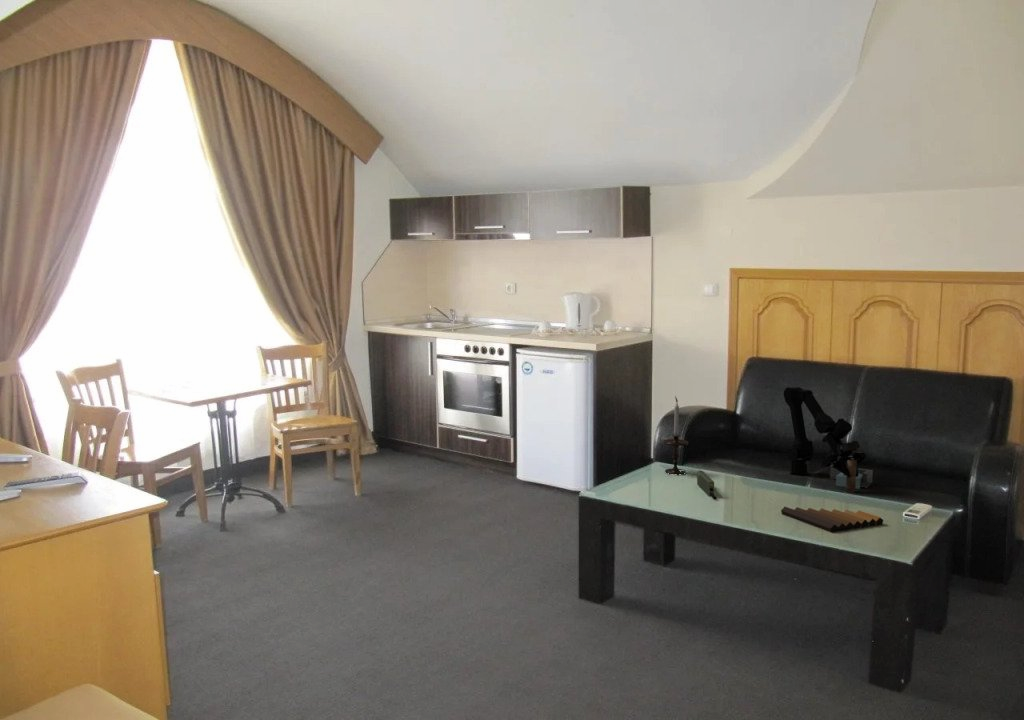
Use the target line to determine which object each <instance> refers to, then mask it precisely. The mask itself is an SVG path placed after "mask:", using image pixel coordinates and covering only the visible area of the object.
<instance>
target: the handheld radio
mask: <svg viewBox="0 0 1024 720" xmlns="http://www.w3.org/2000/svg"><path fill="white" fill-rule="evenodd" d="M696 485H697V486H698V487H699V488H700V489H701V490H702V491H703V492H704V494H705V495H707V496H708V498H709V497H710V498H712V499H713V500H717V496H716V495H715V481H714V480H713V479H712V478H711V477H710V476H709V475H708V474H707V473H706V472H705V471H704V470H701V469H700V470H698V471H697V472H696Z"/></svg>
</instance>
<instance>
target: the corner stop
mask: <svg viewBox="0 0 1024 720" xmlns="http://www.w3.org/2000/svg"><path fill="white" fill-rule="evenodd" d="M832 466H833V464H831V465H830V467H829V468H830V469H829V470H830V471H829V472H830V473H829V479H830V478H833V479H836V475H838V474H840V473H841V472H840V471H838V470H837V469H835V468H833V467H832ZM857 468H858V467H857ZM873 472H874V469H866V468H858V474H862V486H865V487H867V486H868V485H869V484H871V483H872V484H873V477H874V476H873ZM833 479H832V480H833ZM872 484H871V485H872Z"/></svg>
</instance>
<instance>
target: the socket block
mask: <svg viewBox="0 0 1024 720" xmlns="http://www.w3.org/2000/svg"><path fill="white" fill-rule="evenodd" d="M846 479H847V476H846V475H844V474H843V473H842V472H841V473H840V474H838V475H836V480H835V486H839V487H844V488H846ZM861 486H862V474H858V477H856V487H855V489H861V488H862V487H861ZM860 487H861V488H860Z"/></svg>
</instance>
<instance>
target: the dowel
mask: <svg viewBox="0 0 1024 720" xmlns="http://www.w3.org/2000/svg"><path fill="white" fill-rule="evenodd" d="M846 462H847V463H846V467H847V469H848V471H849V473H850V476H851V477H847V479H846V487H845V491H846V492H847V493H855V492H856V488H855V487H856V465H857V466H858V464H857V461H856V460H847V461H846Z"/></svg>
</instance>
